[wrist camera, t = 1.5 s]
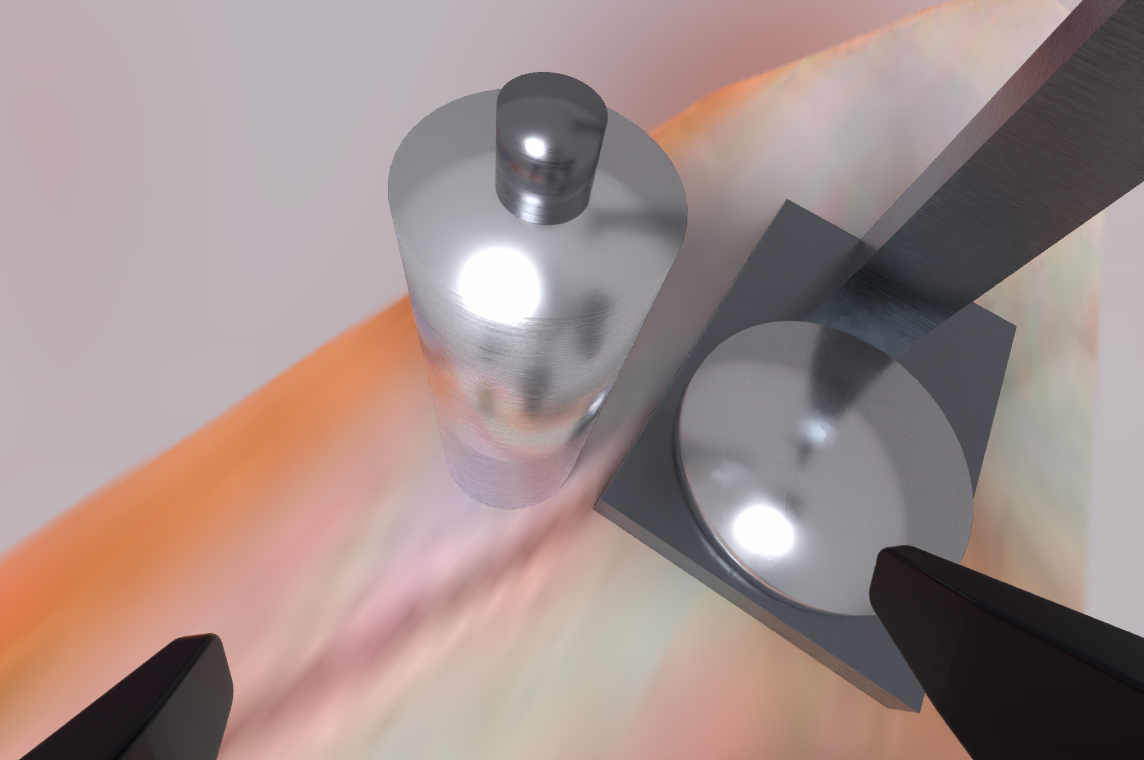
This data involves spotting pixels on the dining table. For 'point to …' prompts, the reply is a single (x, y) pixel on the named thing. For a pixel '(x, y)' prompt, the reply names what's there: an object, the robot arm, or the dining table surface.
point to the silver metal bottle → (529, 271)
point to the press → (878, 362)
